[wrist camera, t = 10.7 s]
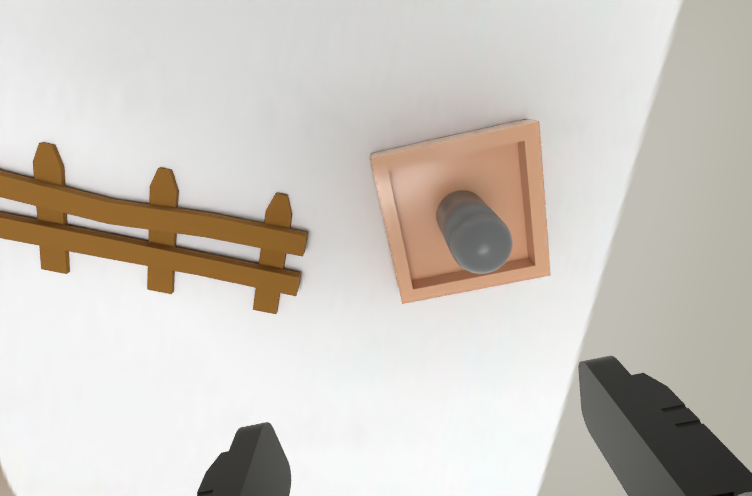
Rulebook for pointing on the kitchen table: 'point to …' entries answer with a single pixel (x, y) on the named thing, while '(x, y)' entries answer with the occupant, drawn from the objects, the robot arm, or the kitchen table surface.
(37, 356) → the kitchen table surface
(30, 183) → the decorative fence
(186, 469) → the kitchen table surface
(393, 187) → the dish
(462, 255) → the plug
